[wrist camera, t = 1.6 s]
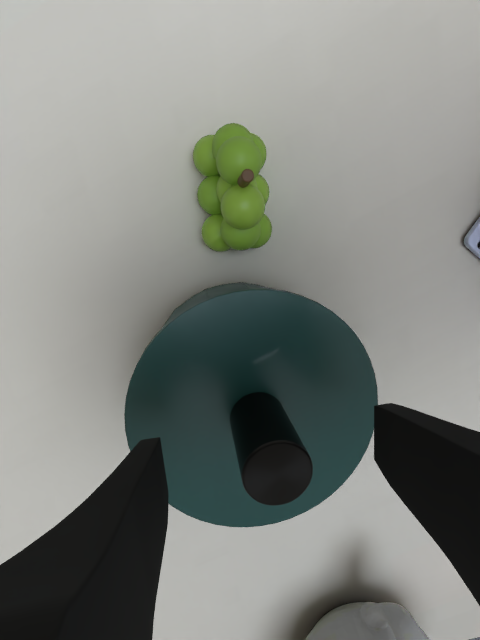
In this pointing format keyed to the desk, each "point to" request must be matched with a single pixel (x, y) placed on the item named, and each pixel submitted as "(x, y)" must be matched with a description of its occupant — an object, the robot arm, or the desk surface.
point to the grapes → (233, 189)
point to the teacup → (367, 623)
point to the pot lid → (253, 405)
